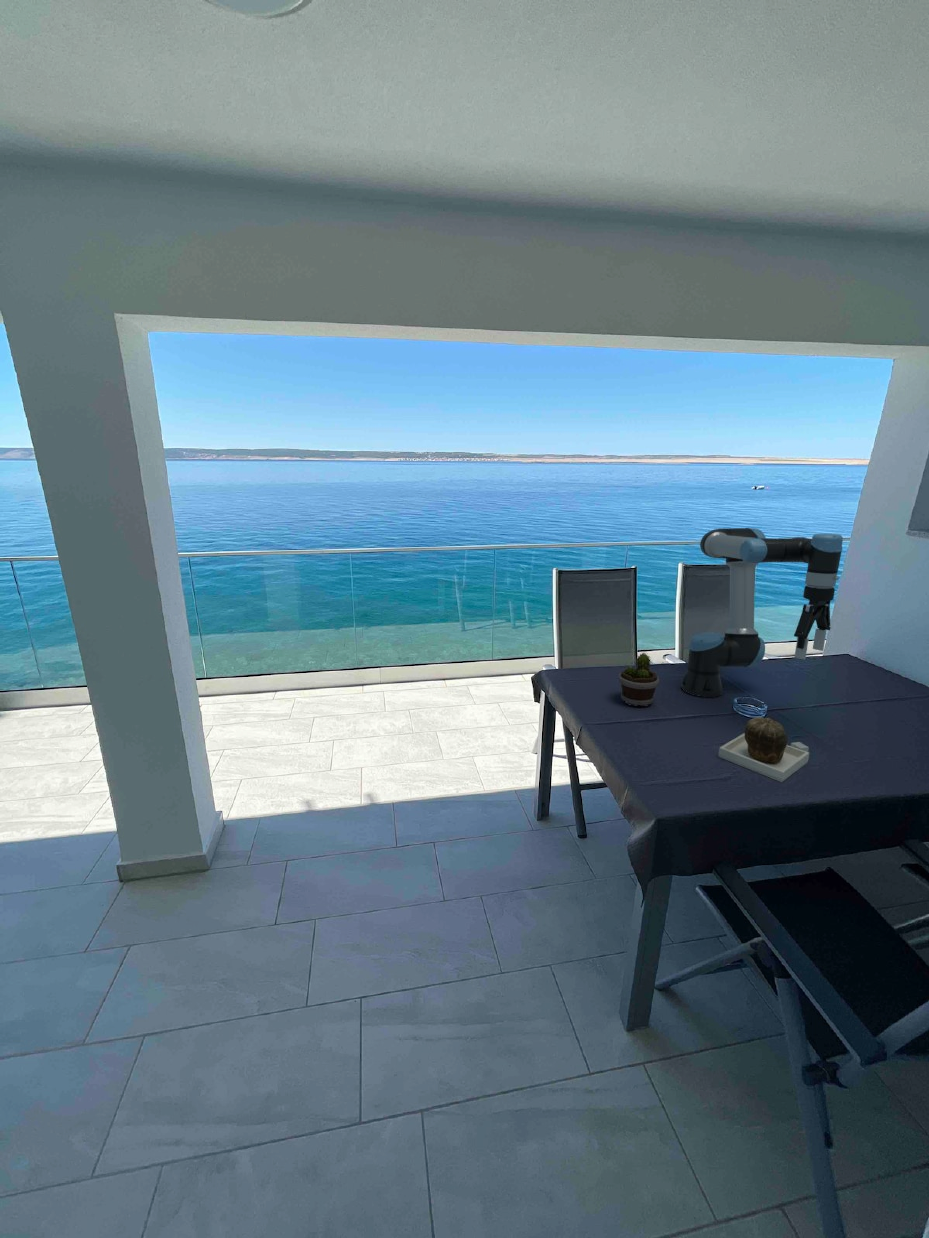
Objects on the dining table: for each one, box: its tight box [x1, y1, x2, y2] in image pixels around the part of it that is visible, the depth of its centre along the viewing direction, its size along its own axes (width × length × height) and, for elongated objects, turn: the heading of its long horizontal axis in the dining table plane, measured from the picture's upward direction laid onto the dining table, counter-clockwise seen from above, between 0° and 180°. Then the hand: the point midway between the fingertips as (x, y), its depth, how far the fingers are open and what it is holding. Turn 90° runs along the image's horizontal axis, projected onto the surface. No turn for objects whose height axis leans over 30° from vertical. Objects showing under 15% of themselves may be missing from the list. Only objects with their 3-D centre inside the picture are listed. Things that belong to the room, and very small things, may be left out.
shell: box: [744, 716, 788, 764], centre depth 148 cm, size 11×11×12 cm
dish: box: [717, 732, 810, 783], centre depth 150 cm, size 18×18×3 cm
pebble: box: [790, 741, 810, 752], centre depth 154 cm, size 4×3×2 cm
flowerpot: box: [617, 651, 660, 707], centre depth 190 cm, size 14×15×20 cm
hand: (809, 653), depth 155 cm, fingers open, 13 cm apart
